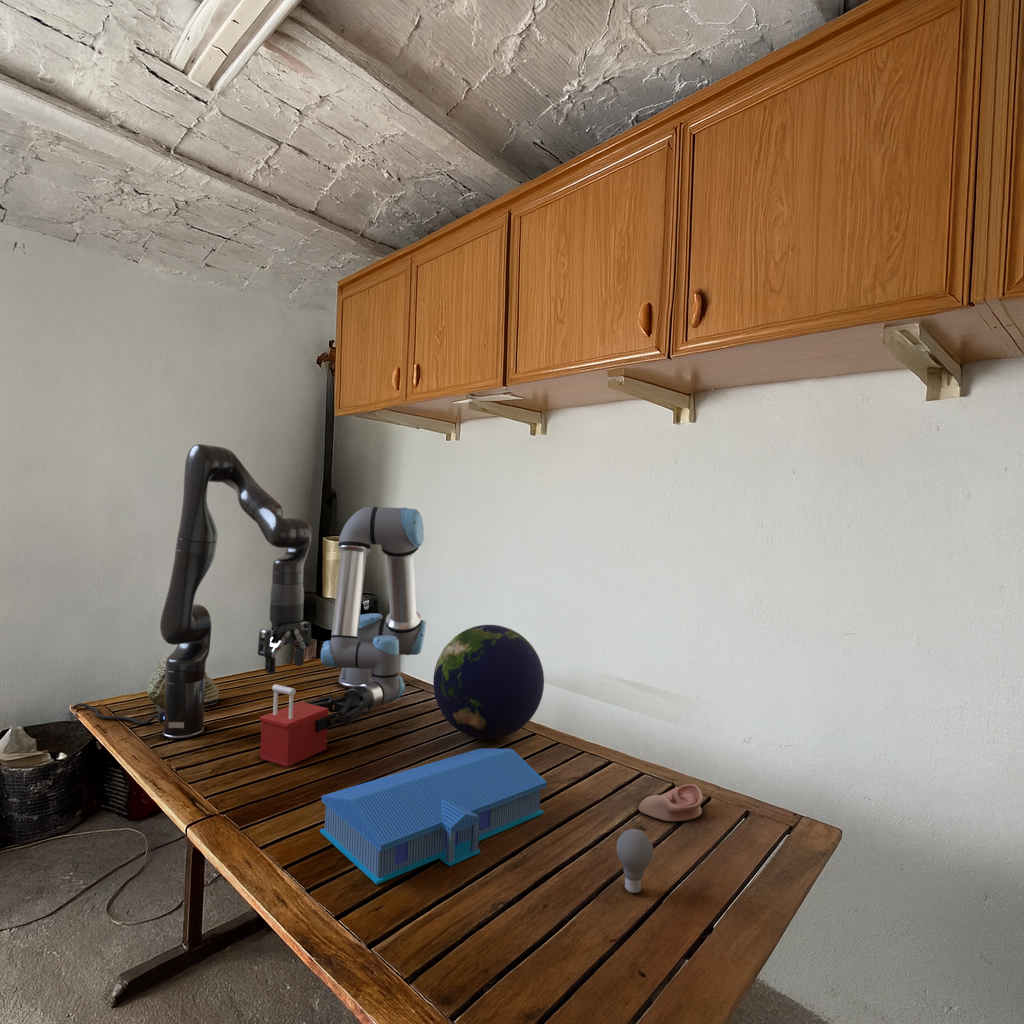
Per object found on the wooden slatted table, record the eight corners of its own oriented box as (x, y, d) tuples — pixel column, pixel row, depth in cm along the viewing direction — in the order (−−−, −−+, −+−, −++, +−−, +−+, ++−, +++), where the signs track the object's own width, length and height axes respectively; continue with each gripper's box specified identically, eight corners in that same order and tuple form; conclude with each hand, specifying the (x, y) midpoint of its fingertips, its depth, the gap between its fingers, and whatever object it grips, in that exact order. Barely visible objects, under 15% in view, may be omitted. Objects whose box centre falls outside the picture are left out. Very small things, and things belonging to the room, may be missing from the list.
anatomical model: (639, 798, 130) (639, 775, 142) (638, 817, 130) (638, 792, 142) (706, 807, 128) (701, 783, 139) (705, 826, 128) (700, 800, 139)
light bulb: (610, 879, 108) (613, 822, 108) (644, 879, 109) (647, 822, 109) (619, 902, 102) (622, 840, 102) (655, 901, 103) (658, 840, 103)
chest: (287, 767, 147) (288, 727, 147) (260, 758, 152) (261, 719, 151) (326, 748, 159) (328, 712, 159) (300, 741, 163) (301, 705, 163)
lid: (287, 728, 147) (288, 692, 147) (259, 720, 151) (260, 686, 151) (328, 711, 159) (329, 679, 158) (301, 705, 163) (302, 673, 163)
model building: (386, 894, 102) (389, 832, 102) (318, 830, 120) (320, 778, 120) (555, 819, 128) (557, 770, 128) (478, 776, 146) (480, 733, 146)
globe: (409, 744, 164) (414, 628, 163) (461, 710, 191) (466, 611, 191) (517, 767, 152) (522, 643, 152) (556, 727, 180) (560, 623, 180)
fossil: (144, 707, 182) (145, 655, 182) (212, 696, 194) (213, 647, 194) (151, 716, 175) (153, 662, 175) (221, 703, 188) (223, 653, 188)
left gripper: (274, 607, 143) (272, 678, 143) (320, 599, 156) (318, 665, 156) (251, 603, 146) (249, 673, 147) (298, 596, 159) (295, 660, 159)
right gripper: (393, 719, 172) (334, 746, 152) (332, 704, 182) (270, 728, 162) (394, 692, 172) (335, 715, 152) (333, 678, 182) (271, 699, 162)
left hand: (284, 669), depth 151 cm, fingers open, 8 cm apart
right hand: (301, 722), depth 157 cm, fingers closed on chest, 9 cm apart
